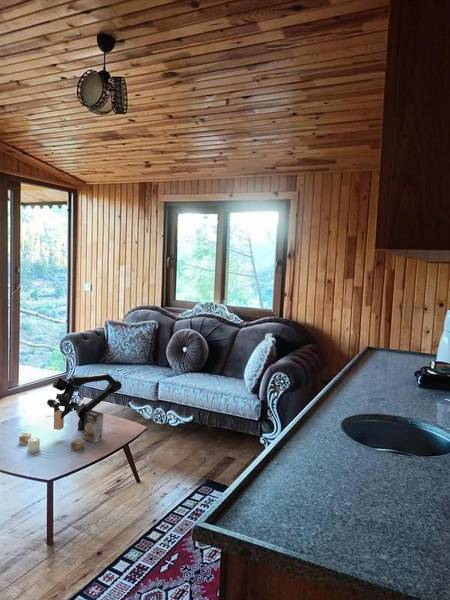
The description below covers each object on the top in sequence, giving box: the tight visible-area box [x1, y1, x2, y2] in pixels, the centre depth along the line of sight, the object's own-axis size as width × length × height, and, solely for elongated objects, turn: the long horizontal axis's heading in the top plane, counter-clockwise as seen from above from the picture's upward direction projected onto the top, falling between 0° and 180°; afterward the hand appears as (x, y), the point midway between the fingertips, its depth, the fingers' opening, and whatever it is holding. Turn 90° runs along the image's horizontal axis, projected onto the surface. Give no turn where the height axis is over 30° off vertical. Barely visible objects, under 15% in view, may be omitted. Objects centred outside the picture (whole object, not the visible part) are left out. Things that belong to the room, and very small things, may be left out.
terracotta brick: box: [53, 409, 65, 431], centre depth 263 cm, size 4×4×11 cm
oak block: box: [18, 432, 32, 445], centre depth 255 cm, size 5×5×4 cm
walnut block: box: [70, 439, 85, 453], centre depth 250 cm, size 5×5×4 cm
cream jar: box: [27, 437, 41, 454], centre depth 245 cm, size 6×6×6 cm
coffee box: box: [83, 409, 104, 443], centre depth 264 cm, size 9×6×16 cm
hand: (57, 418), depth 261 cm, fingers closed on terracotta brick, 4 cm apart
